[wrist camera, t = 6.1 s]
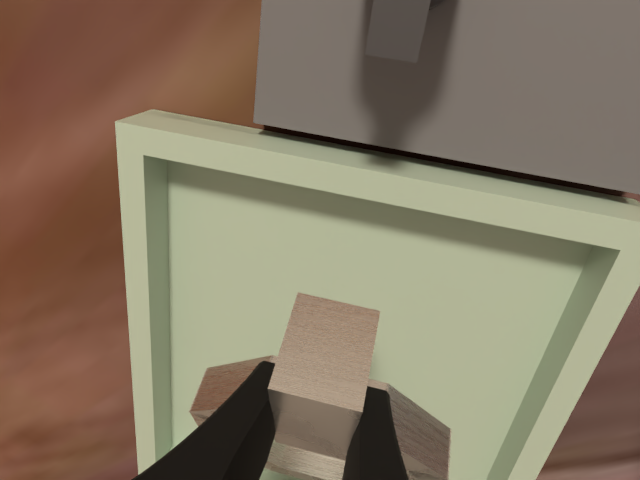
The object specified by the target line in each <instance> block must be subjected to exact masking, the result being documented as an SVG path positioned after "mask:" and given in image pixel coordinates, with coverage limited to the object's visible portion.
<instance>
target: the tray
mask: <svg viewBox="0 0 640 480" xmlns="http://www.w3.org/2000/svg"><path fill="white" fill-rule="evenodd" d="M115 129H116V144H117V159H118V174H119V189H120V204H121V219H122V234H123V249H124V264H125V279H126V294H127V309H128V324H129V340H130V355H131V370H132V385H133V400H134V415H135V430H136V445H137V460H138V475H139V474H141V473H142V472H143V471H145V470H146V469H147V468H149V467H150V466H151V465H153V464H154V463H155V462H157V461H158V460H159V459H161V458H162V457H163V456H164V455H166V454H167V453H168V452H169V451H171V450H172V449H173V448H174V447H176V446H177V445H178V444H179V443H180V442H182V441H183V440H184V439H185V438H186V437H187V436H188V435H190V434H191V433H192V432H193V431H194V430H195V429H196V428H197V427H198V426H197V424H196V422H195V420H194V419H193V417H192V415H191V414H190V412H189V410H190V408H191V405H192V403H193V400H194V398H195V395H196V393H197V391H198V388H199V386H200V383H201V381H202V378H203V376H204V373H205V371H206V368H209V367H215V366H220V365H225V364H230V363H235V362H240V361H245V360H250V359H255V358H260V357H265V356H271V355H274V356H278V354H279V351H280V348H281V344H282V341H283V338H284V335H285V332H286V328H287V325H288V322H289V319H290V316H291V312H292V309H293V306H294V303H295V300H296V296H297V293H298V292H299V293H303V294H308V295H312V296H317V297H321V298H326V299H330V300H334V301H339V302H343V303H348V304H352V305H357V306H361V307H365V308H370V309H374V310H379V311H380V316H379V322H378V327H377V333H376V339H375V344H374V350H373V356H372V361H371V367H370V373H369V378H368V379H372V380H376V381H381V382H385V383H389V384H390V385H391V386H392V387H394V388H395V389H396V390H398V391H399V392H401V393H402V394H403V395H405V396H406V397H407V398H409V399H410V400H412V401H413V402H414V403H416V404H417V405H418V406H420V407H421V408H423V409H424V410H425V411H427V412H428V413H429V414H431V415H432V416H434V417H435V418H436V419H438V420H439V421H440V422H442V423H443V424H445V425H446V426H447V427H449V428H450V429H451V445H450V463H449V480H536V478H537V476H538V474H539V472H540V470H541V469H542V467H543V465H544V463H545V461H546V459H547V457H548V455H549V454H550V452H551V450H552V448H553V446H554V444H555V442H556V440H557V439H558V437H559V435H560V433H561V431H562V429H563V427H564V426H565V424H566V422H567V420H568V418H569V416H570V414H571V412H572V411H573V409H574V407H575V405H576V403H577V401H578V399H579V397H580V396H581V394H582V392H583V390H584V388H585V386H586V384H587V382H588V381H589V379H590V377H591V375H592V373H593V371H594V369H595V368H596V366H597V364H598V362H599V360H600V358H601V356H602V354H603V353H604V351H605V349H606V347H607V345H608V343H609V341H610V339H611V338H612V336H613V334H614V332H615V330H616V328H617V326H618V324H619V323H620V321H621V319H622V317H623V315H624V313H625V311H626V310H627V308H628V306H629V304H630V302H631V300H632V298H633V296H634V295H635V293H636V291H637V289H638V287H639V285H640V203H639V202H638V201H637V200H635V199H631V198H625V197H620V196H615V195H609V194H604V193H599V192H593V191H588V190H583V189H577V188H572V187H567V186H561V185H556V184H550V183H545V182H540V181H534V180H529V179H524V178H518V177H513V176H508V175H502V174H497V173H492V172H486V171H481V170H476V169H470V168H465V167H459V166H454V165H449V164H443V163H438V162H433V161H427V160H422V159H417V158H411V157H406V156H401V155H395V154H390V153H385V152H379V151H374V150H368V149H363V148H358V147H352V146H347V145H342V144H336V143H331V142H326V141H320V140H315V139H310V138H304V137H299V136H293V135H288V134H283V133H277V132H272V131H267V130H261V129H256V128H251V127H245V126H240V125H235V124H229V123H224V122H219V121H213V120H208V119H202V118H197V117H192V116H186V115H181V114H176V113H170V112H165V111H160V110H154V109H152V110H149V111H146V112H143V113H139V114H136V115H133V116H130V117H127V118H124V119H121V120H118V121H115ZM259 480H303V479H300V478H296V477H292V476H289V475H285V474H281V473H278V472H274V471H270V470H268V469H266V468H264V470H263V472H262V474H261V477H260V479H259Z"/></svg>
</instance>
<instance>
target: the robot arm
mask: <svg viewBox="0 0 640 480" xmlns="http://www.w3.org/2000/svg"><path fill="white" fill-rule="evenodd" d="M275 364H276V363H272V362H268V361H262V362H260V363H259V364H258V365H257V366H256V368H255V369H254V370H253V371H252V373H251V374H250V375H249V376H248V377H247V378H246V380H245V381H244V382H243V383H242V384H241V385H240V386H239V387H238V388H237V389H236V390H235V392H234V393H233V394H232V395H231V396H230V397H229V398H228V399H227V400H226V401H225V402H224V403H223V404H222V405H221V406H220V407H219V408H218V409H217V410H216V411H215V412H214V413H213V414H212V415H211V416H210V417H208V418H207V419H206V420H205V421H204V422H203V423H202V424H201V425H200V426H199V427H197V428H196V429H195V430H194V431H193V432H192V433H191V434H190V435H188V436H187V437H186V438H185V439H184V440H183V441H182V442H180V443H179V444H178V445H177V446H176V447H174V448H173V449H172V450H171V451H169V452H168V453H167V454H166V455H164V456H163V457H162V458H161V459H159V460H158V461H157V462H155V463H154V464H153V465H151V466H150V467H149V468H147V469H146V470H145V471H143V472H142V473H141V474H139V475H138V476H136V477H135V478H133V479H132V480H259V479H260V477H261V474H262V472H263V470H264V467H265V465H266V462H267V460H268V456H269V453H270V450H271V447H272V444H273V440H274V437H275V434H276V433H275V426H274V419H273V413H272V409H271V405H270V401H269V394H268V386H269V383H270V380H271V376H272V373H273V370H274V367H275ZM342 480H409V478H408V475H407V472H406V469H405V465H404V462H403V458H402V455H401V451H400V448H399V444H398V440H397V435H396V431H395V427H394V422H393V417H392V411H391V404H390V395H389V394H388V392H387V391H386V390H382V389H378V388H374V387H370V386H367V390H366V395H365V401H364V407H363V412H362V415H361V418H360V421H359V424H358V426H357V428H356V430H355V432H354V434H353V436H352V439H351V442H350V445H349V448H348V451H347V455H346V461H345V466H344V472H343V477H342Z"/></svg>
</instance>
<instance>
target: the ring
mask: <svg viewBox="0 0 640 480" xmlns="http://www.w3.org/2000/svg"><path fill="white" fill-rule="evenodd" d="M379 316H380V311H379V310H374V309H370V308H365V307H361V306H357V305H352V304H348V303H343V302H339V301H334V300H330V299H326V298H321V297H317V296H312V295H308V294H303V293H299V292H298V293H297V296H296V300H295V303H294V306H293V309H292V312H291V316H290V319H289V322H288V325H287V328H286V332H285V335H284V338H283V341H282V344H281V348H280V351H279V354H278V356H274V355H271V356H265V357H260V358H255V359H250V360H245V361H240V362H235V363H230V364H225V365H220V366H215V367H209V368H206V371H205V373H204V376H203V378H202V381H201V383H200V386H199V388H198V391H197V393H196V395H195V398H194V400H193V403H192V405H191V408H190V410H189V412H190V414H191V415H192V417H193V419H194V420H195V422H196V424H197V426H198V427H199V426H200V425H201V424H202V423H203V422H204V421H205V420H206V419H207V418H208V417H210V416H211V415H212V414H213V413H214V412H215V411H216V410H217V409H218V408H219V407H220V406H221V405H222V404H223V403H224V402H225V401H226V400H227V399H228V398H229V397H230V396H231V395H232V394H233V393H234V392H235V390H236V389H237V388H238V387H239V386H240V385H241V384H242V383H243V382H244V381H245V380H246V378H247V377H248V376H249V375H250V374H251V373H252V371H253V370H254V369H255V368H256V366H257V365H258V364H259V363H260V362H262V361H268V362H272V363H276V364H275V367H274V370H273V373H272V376H271V380H270V383H269V386H268V394H269V401H270V405H271V409H272V413H273V419H274V426H275V433H276V434H275V437H274V440H273V444H272V447H271V450H270V453H269V456H268V460H267V462H266V465H265V467H264V468H266V469H268V470H270V471H274V472H278V473H281V474H285V475H289V476H292V477H296V478H300V479H303V480H342V477H343V472H344V466H345V461H346V455H347V451H348V448H349V445H350V442H351V439H352V436H353V434H354V432H355V430H356V428H357V426H358V424H359V421H360V418H361V415H362V412H363V407H364V401H365V395H366V390H367V386H370V387H374V388H378V389H382V390H386V391H387V392H388V394H389V395H390V404H391V411H392V417H393V422H394V427H395V431H396V435H397V440H398V444H399V448H400V451H401V455H402V458H403V462H404V465H405V469H406V472H407V475H408V478H409V480H449V463H450V445H451V429H450V428H449V427H447V426H446V425H445V424H443V423H442V422H440V421H439V420H438V419H436V418H435V417H434V416H432V415H431V414H429V413H428V412H427V411H425V410H424V409H423V408H421V407H420V406H418V405H417V404H416V403H414V402H413V401H412V400H410V399H409V398H407V397H406V396H405V395H403V394H402V393H401V392H399V391H398V390H396V389H395V388H394V387H392V386H391V385H390V384H389V383H385V382H381V381H376V380H372V379H368V378H369V373H370V367H371V361H372V356H373V350H374V344H375V339H376V333H377V327H378V322H379Z"/></svg>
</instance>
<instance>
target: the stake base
mask: <svg viewBox="0 0 640 480" xmlns="http://www.w3.org/2000/svg"><path fill="white" fill-rule="evenodd" d="M253 123H257V124H263V125H268V126H274V127H279V128H284V129H290V130H295V131H301V132H306V133H311V134H317V135H322V136H328V137H333V138H338V139H344V140H349V141H354V142H360V143H365V144H371V145H376V146H381V147H387V148H392V149H398V150H403V151H408V152H414V153H419V154H425V155H430V156H435V157H441V158H446V159H452V160H457V161H462V162H468V163H473V164H479V165H484V166H489V167H495V168H500V169H506V170H511V171H516V172H522V173H527V174H532V175H538V176H543V177H549V178H554V179H559V180H565V181H570V182H576V183H581V184H586V185H592V186H597V187H603V188H608V189H613V190H619V191H624V192H630V193H635V194H640V0H262V6H261V21H260V35H259V49H258V64H257V78H256V93H255V107H254V121H253Z"/></svg>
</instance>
